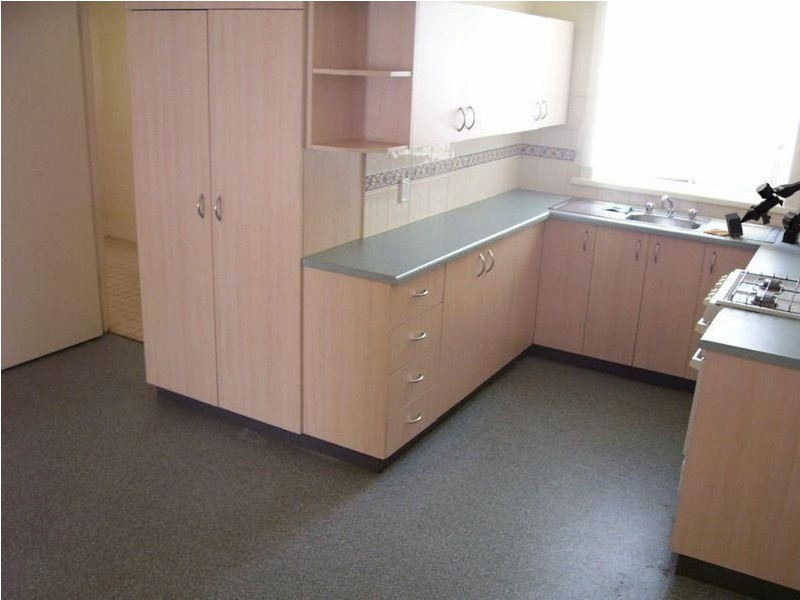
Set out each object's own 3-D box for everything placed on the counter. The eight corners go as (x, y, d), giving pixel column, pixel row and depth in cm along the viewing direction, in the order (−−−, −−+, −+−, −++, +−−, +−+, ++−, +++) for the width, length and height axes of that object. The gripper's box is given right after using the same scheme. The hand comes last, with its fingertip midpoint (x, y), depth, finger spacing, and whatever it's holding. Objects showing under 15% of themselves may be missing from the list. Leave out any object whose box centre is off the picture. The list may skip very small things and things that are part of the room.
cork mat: (734, 233, 427) (734, 232, 427) (722, 236, 419) (722, 235, 419) (715, 229, 435) (715, 228, 435) (703, 232, 427) (703, 231, 427)
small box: (744, 235, 414) (740, 216, 411) (731, 238, 416) (727, 220, 413) (740, 229, 423) (737, 211, 420) (727, 232, 425) (724, 214, 422)
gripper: (777, 219, 399) (749, 237, 406) (777, 214, 415) (750, 231, 422) (763, 202, 399) (736, 220, 407) (763, 197, 416) (737, 215, 423)
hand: (740, 222), depth 415 cm, fingers closed
